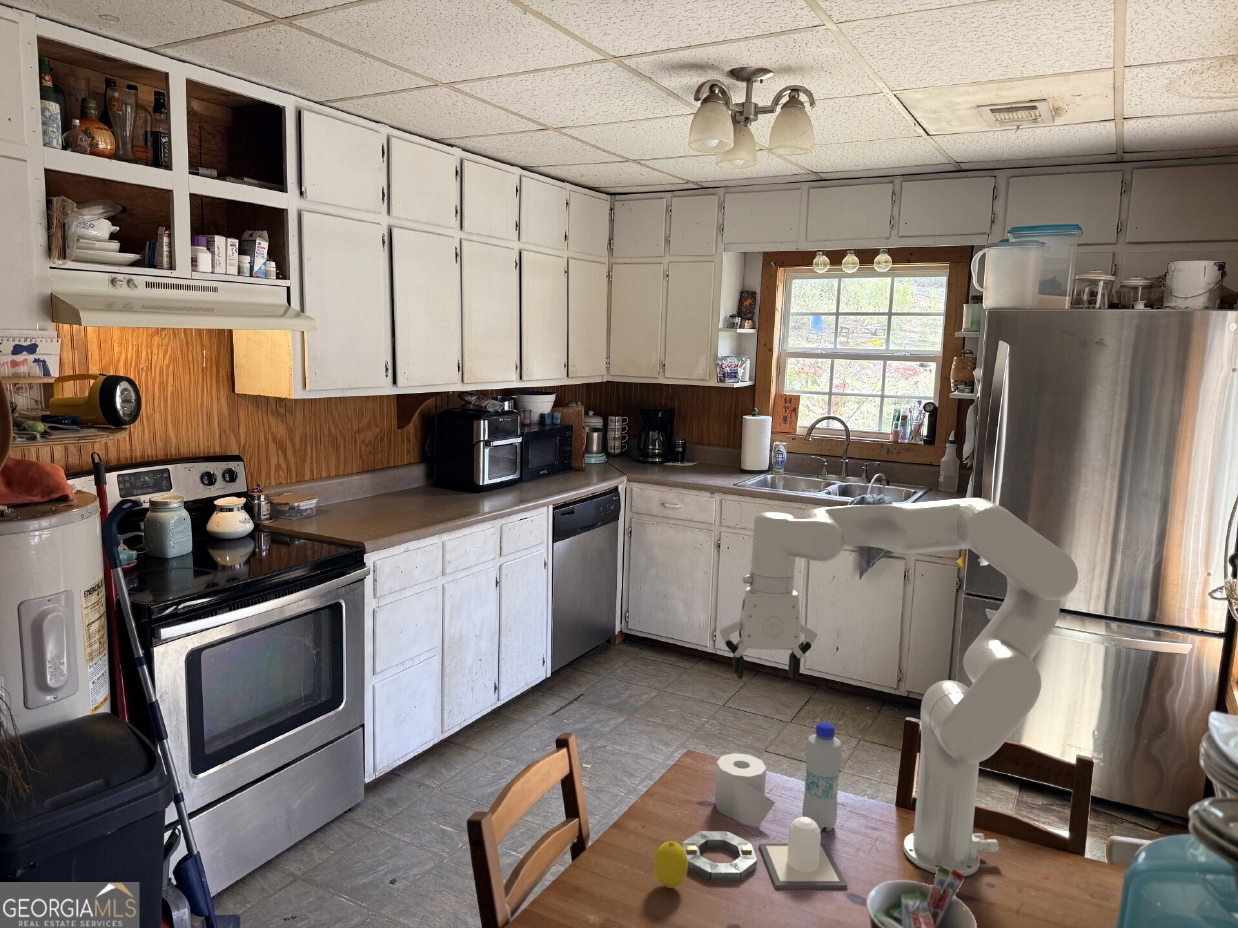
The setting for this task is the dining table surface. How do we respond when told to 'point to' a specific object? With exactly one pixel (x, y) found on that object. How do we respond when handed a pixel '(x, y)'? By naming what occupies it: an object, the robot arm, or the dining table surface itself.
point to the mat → (794, 879)
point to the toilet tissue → (742, 789)
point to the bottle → (822, 776)
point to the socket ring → (720, 870)
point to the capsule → (804, 845)
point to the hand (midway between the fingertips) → (765, 676)
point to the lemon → (670, 864)
